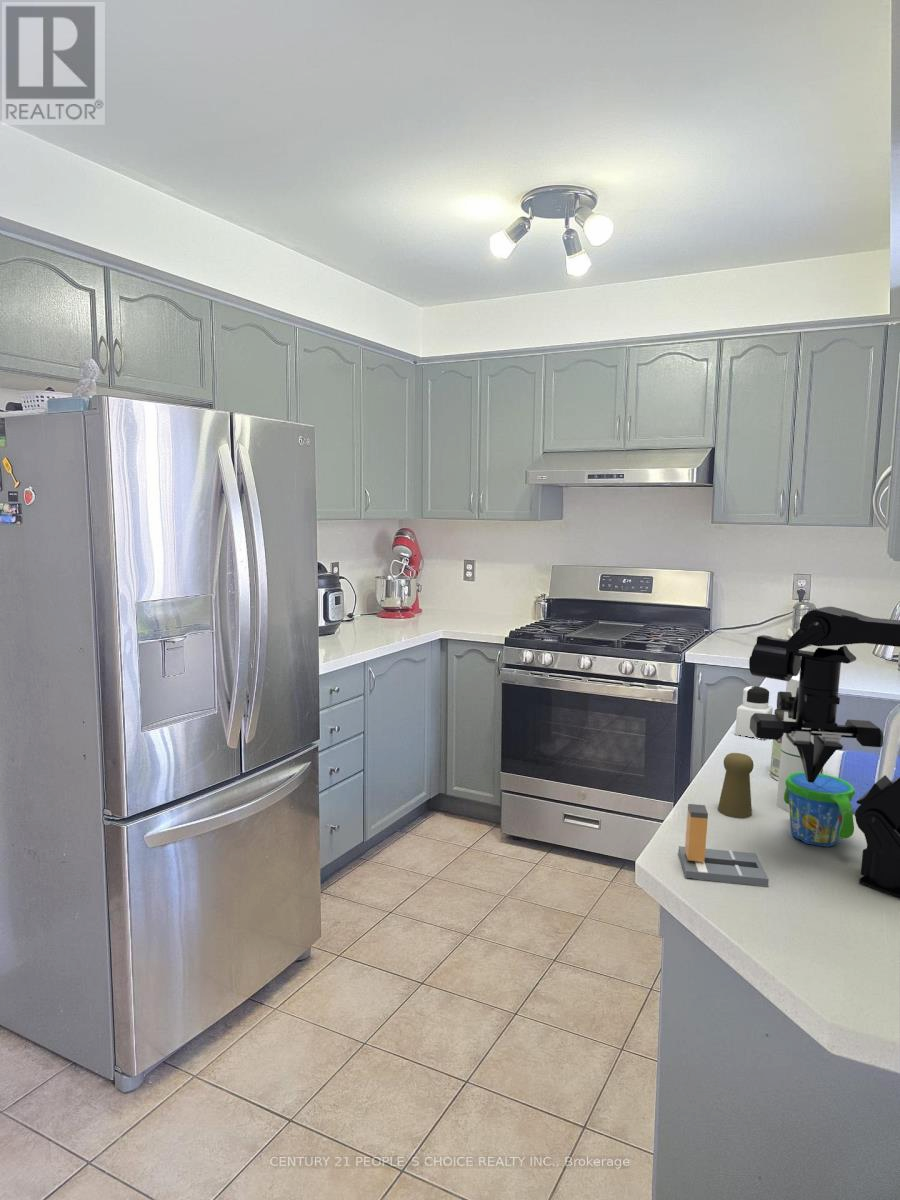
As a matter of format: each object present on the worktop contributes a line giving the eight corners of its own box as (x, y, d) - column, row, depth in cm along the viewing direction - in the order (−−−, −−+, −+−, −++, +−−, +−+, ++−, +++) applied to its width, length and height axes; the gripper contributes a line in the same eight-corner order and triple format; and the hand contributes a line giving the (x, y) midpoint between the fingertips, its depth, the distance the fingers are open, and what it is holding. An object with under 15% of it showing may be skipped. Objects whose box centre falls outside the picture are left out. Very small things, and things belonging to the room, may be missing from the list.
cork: (724, 803, 154) (729, 747, 152) (756, 811, 150) (761, 754, 148) (712, 812, 149) (716, 754, 148) (745, 820, 145) (749, 762, 144)
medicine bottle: (770, 733, 202) (774, 687, 200) (764, 740, 196) (768, 692, 194) (741, 728, 206) (744, 683, 204) (734, 735, 200) (738, 688, 198)
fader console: (755, 860, 129) (755, 852, 129) (768, 886, 120) (768, 878, 120) (678, 853, 131) (678, 845, 131) (685, 878, 122) (686, 870, 122)
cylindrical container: (822, 807, 153) (834, 679, 150) (809, 817, 148) (821, 684, 145) (784, 797, 158) (795, 672, 155) (770, 806, 153) (781, 677, 149)
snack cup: (871, 858, 131) (877, 799, 130) (809, 859, 130) (815, 799, 129) (819, 820, 146) (824, 766, 145) (764, 821, 145) (768, 766, 144)
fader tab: (700, 860, 128) (704, 805, 126) (703, 869, 124) (707, 813, 123) (684, 858, 128) (688, 803, 127) (687, 868, 125) (691, 812, 123)
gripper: (863, 679, 133) (855, 770, 135) (746, 672, 136) (739, 761, 138) (889, 695, 122) (879, 793, 124) (761, 686, 125) (753, 783, 127)
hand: (810, 781), depth 128 cm, fingers closed
